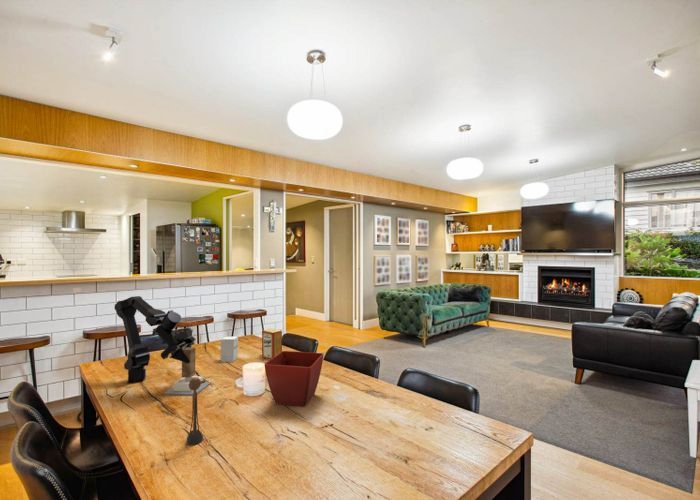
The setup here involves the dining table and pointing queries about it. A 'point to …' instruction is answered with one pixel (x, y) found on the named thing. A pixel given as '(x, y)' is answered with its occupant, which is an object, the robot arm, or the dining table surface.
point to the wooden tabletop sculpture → (195, 434)
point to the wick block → (189, 368)
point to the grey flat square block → (185, 387)
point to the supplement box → (229, 349)
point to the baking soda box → (271, 343)
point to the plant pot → (293, 376)
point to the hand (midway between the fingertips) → (191, 361)
